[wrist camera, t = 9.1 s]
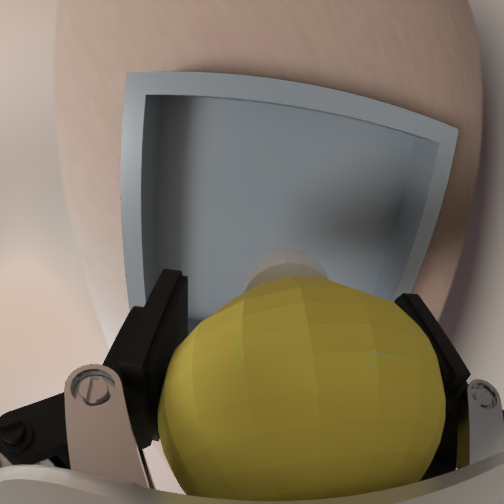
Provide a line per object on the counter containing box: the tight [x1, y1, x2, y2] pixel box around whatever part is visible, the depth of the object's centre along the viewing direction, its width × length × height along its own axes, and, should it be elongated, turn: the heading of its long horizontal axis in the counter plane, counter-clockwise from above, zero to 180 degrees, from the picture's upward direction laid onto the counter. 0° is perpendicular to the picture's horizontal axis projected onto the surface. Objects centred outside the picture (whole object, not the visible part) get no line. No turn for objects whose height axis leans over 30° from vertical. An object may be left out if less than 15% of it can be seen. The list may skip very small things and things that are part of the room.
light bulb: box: [158, 248, 446, 501], centre depth 8 cm, size 7×7×10 cm
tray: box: [121, 72, 459, 335], centre depth 15 cm, size 15×15×4 cm
